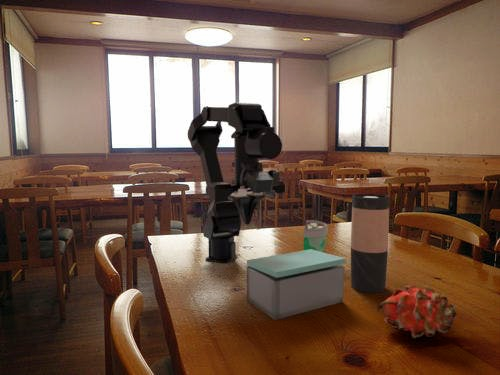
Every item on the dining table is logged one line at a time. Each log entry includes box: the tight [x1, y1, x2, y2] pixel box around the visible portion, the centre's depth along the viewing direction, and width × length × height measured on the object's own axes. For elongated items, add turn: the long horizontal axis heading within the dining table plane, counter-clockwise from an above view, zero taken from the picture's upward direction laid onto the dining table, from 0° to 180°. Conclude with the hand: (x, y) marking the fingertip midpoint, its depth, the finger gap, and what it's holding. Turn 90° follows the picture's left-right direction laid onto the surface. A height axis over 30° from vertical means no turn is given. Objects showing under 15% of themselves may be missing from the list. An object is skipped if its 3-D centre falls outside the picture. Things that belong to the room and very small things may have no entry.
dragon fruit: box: [376, 284, 458, 339], centre depth 63 cm, size 8×8×12 cm
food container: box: [302, 219, 329, 253], centre depth 101 cm, size 12×6×10 cm, turn 168°
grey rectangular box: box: [246, 265, 345, 321], centre depth 76 cm, size 10×16×7 cm, turn 120°
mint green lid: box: [246, 249, 347, 278], centre depth 75 cm, size 10×16×1 cm, turn 120°
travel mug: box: [350, 193, 390, 294], centre depth 83 cm, size 8×8×20 cm
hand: (246, 224), depth 91 cm, fingers closed
